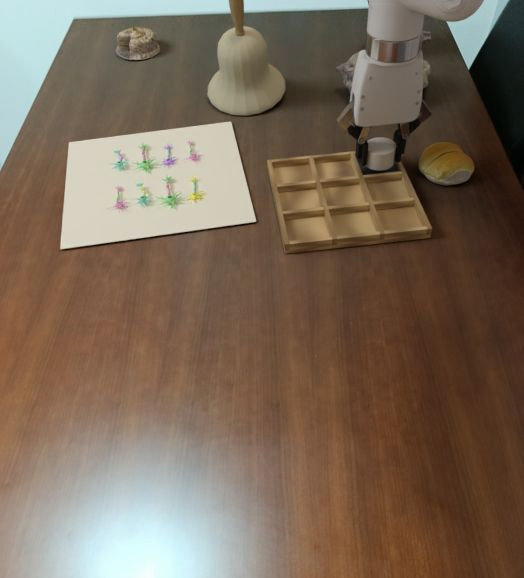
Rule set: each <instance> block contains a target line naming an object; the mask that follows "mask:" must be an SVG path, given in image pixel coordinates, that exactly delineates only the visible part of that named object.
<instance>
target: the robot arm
mask: <svg viewBox="0 0 524 578" xmlns="http://www.w3.org/2000/svg"><path fill="white" fill-rule="evenodd" d="M484 1H485V0H369V5H368V10H367V22H366V23H367V24H366V33H365V43H364V44H365V45H364V49H361V50H359V51H360V52H359V51H358V52H359V55H358V58H357V62H356V66H355V71H354V76H353V81H352V88H351V93H350V96H349V103H348V104H347V105H346V107H344V108H343V110H342V111H341V113H340V114H339V115H338V116H337V117H336V120H335V121H336V123H337V126H338V127H339V128H341V129H342V130H343V131H344V132H347V133H348V134H349V135H350V136H351V137H352V138H353V139H355V140H356V141H355V151H356V152H355V154H356V158H357V159H359V160H360V163H361V165H362V166H365V165H367V155H368V142H367V141H368V136H369V133H370V130H371V128H372V127H377V126H388V125H396V124H397V129H395V130H394V132H393V137H392V140H393V141H394V142H395V144H396V153H395V161H396V162H400V161H401V162H402V155H404V154H405V151H406V144H407V140H408V139H409V138H410V137H411V134H412V133H413V132H414V131H415V130H416V129H418V128H419V127H420V125H421V124H423V122H425V121H427V120H428V119H429V118H430V117H431V116H432V115H433V113H432V111H431V109H430V108H429V105H427V103H426V101H425V100H424V99H423V92H424V91H423V90H424V88H423V60H424V54H423V50H422V46H423V45H425V44H426V43H430V42H431V40H432V32H431V31H425V30H423V28H424V23H425V22H424V21H425V16H427V17H430V18H433V19H436V20H439V21H443V22H449V23H456V22H461V21H464V20H467V19H469V18H470V17H471V16H473V15H474V14H475V13H477V11H478V10H479V9H480V8H481V6H482V5H483V3H484ZM352 118H354V122H353V121H350V120H351V119H352Z"/></svg>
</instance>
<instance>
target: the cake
mask: <svg viewBox="0 0 524 578" xmlns="http://www.w3.org/2000/svg"><path fill="white" fill-rule="evenodd" d="M158 41H159V40H158V38H157V36H156V34H155V32H154V31H153V30H152V29H150V28H146V27H140V26H138V27H137V26H133V27H128V28H127V29H123V30H121V31H119V32H118V33H117V35H116V42H117V44H116V48H115V54H116V55H117V56H118V57H120V58H122V59H124V60H129V61H141V60H147V59H150V58H153V57H155V56H157V55H158V54H159V53H160V52H161V46H160V45H159V43H158Z"/></svg>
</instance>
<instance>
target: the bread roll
mask: <svg viewBox="0 0 524 578" xmlns="http://www.w3.org/2000/svg"><path fill="white" fill-rule="evenodd" d="M418 169H419V172H420V173H421V174H422V175H424V176H425V178H426V179H427V180H429V181H430V182H432V183H434V184H437V185H440V186H452V185H459V184H463V183H465V182H467V181H468V180H469V179H471V176H472V175H473V173H474V171H475V163H474V161H473V159H472V158H471V157H470V156H469V155H467V154H466V153H465V152H464V151H463V149H462V148H461V147H460V146H459V145H458V144H456V143H454V142H447V141H441V142H440V141H439V142H435V143H433V144H430V145H428V146H427V147H426V148H425V149H424V150H423V151H422V152H421V154H420V156H419V159H418Z"/></svg>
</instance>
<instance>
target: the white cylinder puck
mask: <svg viewBox="0 0 524 578" xmlns="http://www.w3.org/2000/svg"><path fill="white" fill-rule="evenodd" d="M367 142H368V155H367V165H365V166H366V167H368V168H369V169H372V170H377V171H381V170H387V169H389V168H391V167H392V166H393V165H394V160H395V153H396V144H395V142H394V141H393V139H390V138H388V137H383V136H379V137H372V138H369V139H367Z"/></svg>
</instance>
